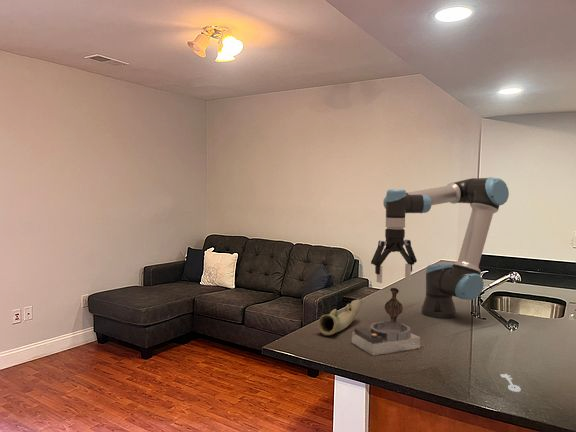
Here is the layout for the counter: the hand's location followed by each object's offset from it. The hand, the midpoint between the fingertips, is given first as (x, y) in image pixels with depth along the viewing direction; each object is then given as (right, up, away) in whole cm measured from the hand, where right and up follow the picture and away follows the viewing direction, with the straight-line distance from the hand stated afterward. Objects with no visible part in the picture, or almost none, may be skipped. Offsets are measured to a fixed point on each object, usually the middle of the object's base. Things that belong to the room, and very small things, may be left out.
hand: (393, 281), depth 176 cm
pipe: (-20, -20, +6) cm, 30 cm away
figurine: (0, -21, +1) cm, 21 cm away
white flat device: (-7, -21, -14) cm, 27 cm away
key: (+24, -24, -45) cm, 56 cm away
